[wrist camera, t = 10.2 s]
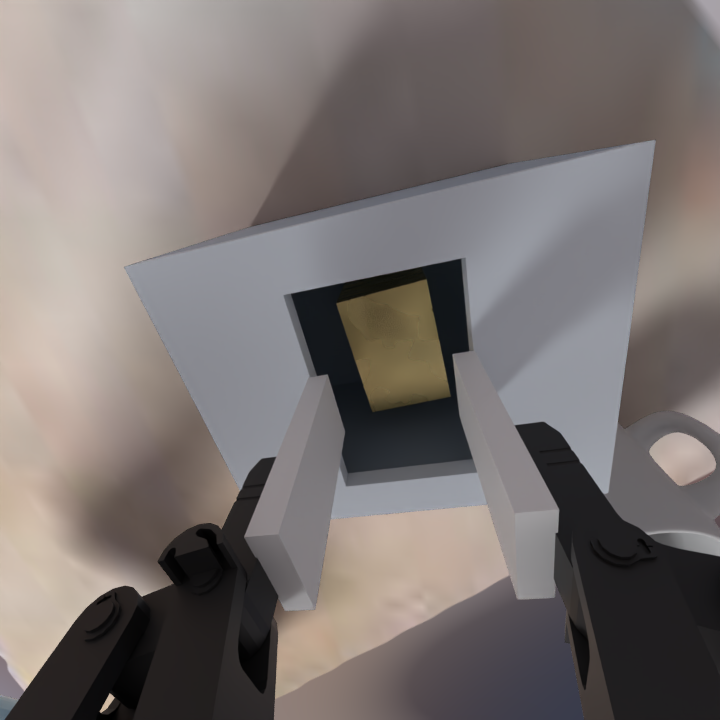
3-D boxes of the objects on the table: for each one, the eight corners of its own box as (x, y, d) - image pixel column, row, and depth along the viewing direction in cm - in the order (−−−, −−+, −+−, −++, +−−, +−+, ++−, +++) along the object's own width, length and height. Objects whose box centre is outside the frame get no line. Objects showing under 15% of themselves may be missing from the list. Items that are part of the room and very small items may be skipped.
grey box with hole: (307, 394, 28) (258, 525, 17) (250, 226, 22) (123, 266, 11) (514, 362, 25) (608, 493, 15) (509, 163, 20) (655, 139, 9)
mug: (554, 495, 31) (631, 639, 21) (485, 449, 29) (534, 583, 19) (682, 409, 26) (859, 544, 16) (609, 347, 24) (759, 458, 14)
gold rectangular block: (376, 346, 25) (372, 412, 18) (352, 265, 22) (336, 303, 15) (431, 333, 24) (450, 396, 17) (413, 247, 21) (426, 279, 14)
